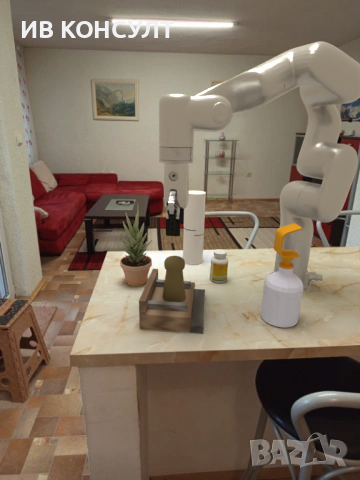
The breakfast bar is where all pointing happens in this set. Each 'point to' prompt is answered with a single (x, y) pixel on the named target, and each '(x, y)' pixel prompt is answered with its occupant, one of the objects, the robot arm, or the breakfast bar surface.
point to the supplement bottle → (219, 266)
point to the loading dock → (171, 308)
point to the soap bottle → (282, 286)
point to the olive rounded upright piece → (174, 279)
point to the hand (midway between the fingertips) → (175, 229)
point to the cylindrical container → (194, 228)
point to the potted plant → (135, 254)
